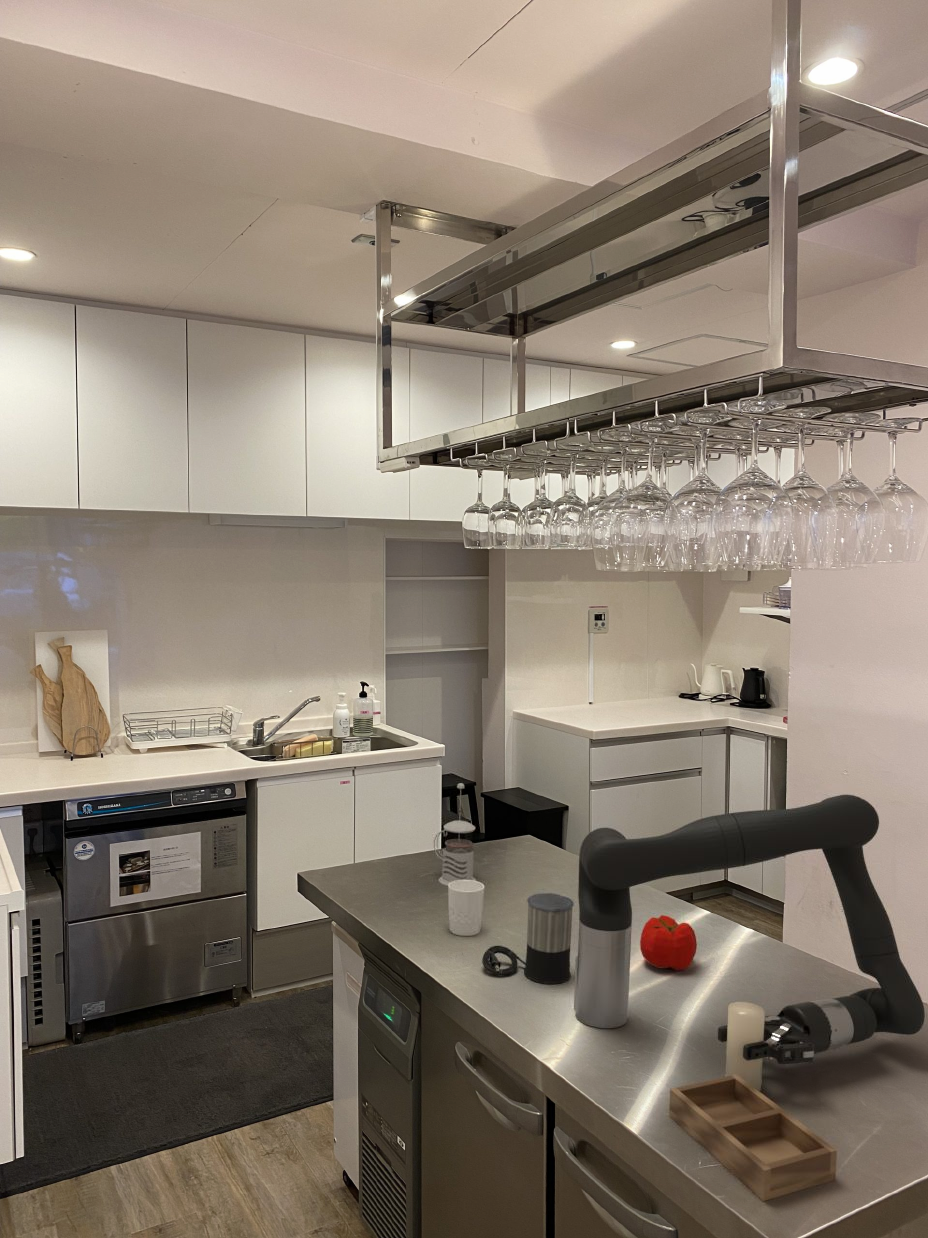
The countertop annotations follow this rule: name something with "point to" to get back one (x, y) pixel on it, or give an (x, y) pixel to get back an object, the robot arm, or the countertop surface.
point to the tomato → (668, 943)
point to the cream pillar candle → (744, 1041)
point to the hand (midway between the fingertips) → (732, 1044)
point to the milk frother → (541, 941)
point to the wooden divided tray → (753, 1136)
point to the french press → (459, 870)
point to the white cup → (465, 907)
